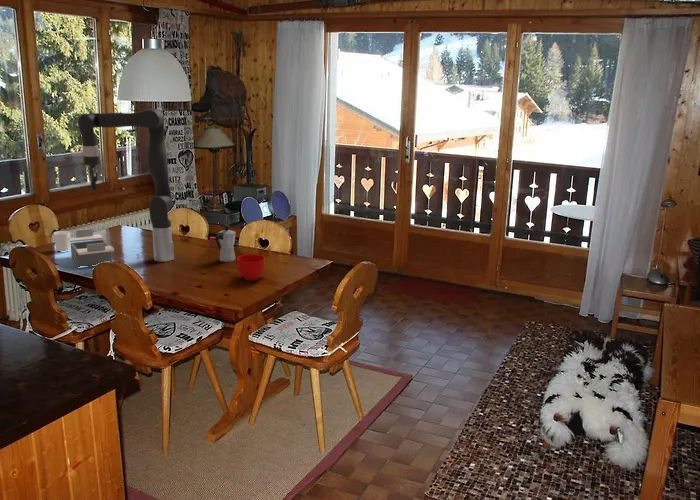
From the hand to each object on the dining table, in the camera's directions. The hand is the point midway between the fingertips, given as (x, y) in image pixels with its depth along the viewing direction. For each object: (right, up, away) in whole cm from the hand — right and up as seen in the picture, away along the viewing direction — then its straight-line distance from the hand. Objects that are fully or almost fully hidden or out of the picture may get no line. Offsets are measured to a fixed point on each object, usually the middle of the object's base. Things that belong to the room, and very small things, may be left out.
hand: (93, 189), depth 330 cm
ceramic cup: (+80, -43, -16) cm, 92 cm away
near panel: (+6, -31, -13) cm, 34 cm away
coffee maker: (+64, -35, +10) cm, 74 cm away
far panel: (-7, -24, +8) cm, 27 cm away
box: (-1, -36, 0) cm, 36 cm away
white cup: (-23, -31, +19) cm, 43 cm away
